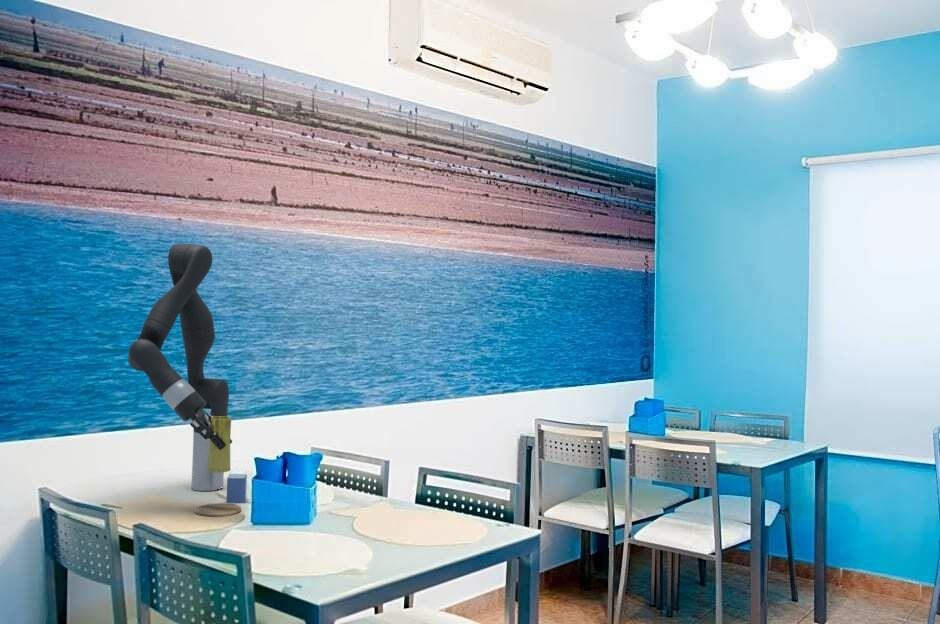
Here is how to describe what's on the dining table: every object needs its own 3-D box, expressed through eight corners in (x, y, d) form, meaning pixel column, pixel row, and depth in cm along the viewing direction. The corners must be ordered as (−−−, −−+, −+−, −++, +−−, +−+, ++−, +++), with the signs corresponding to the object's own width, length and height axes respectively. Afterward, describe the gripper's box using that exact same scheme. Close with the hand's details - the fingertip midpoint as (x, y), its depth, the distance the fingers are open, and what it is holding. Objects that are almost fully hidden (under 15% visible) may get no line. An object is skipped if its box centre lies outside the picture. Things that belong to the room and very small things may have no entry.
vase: (223, 473, 226) (226, 419, 226) (202, 471, 227) (204, 418, 228) (234, 469, 232) (236, 417, 232) (213, 467, 233) (216, 415, 233)
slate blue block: (228, 499, 245) (229, 470, 245) (246, 499, 246) (247, 470, 246) (226, 503, 240) (227, 474, 240) (244, 503, 241) (245, 474, 241)
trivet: (202, 505, 236) (202, 502, 236) (246, 507, 236) (246, 503, 236) (188, 515, 224) (188, 512, 224) (234, 517, 224) (234, 513, 224)
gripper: (185, 392, 223) (229, 440, 223) (202, 388, 237) (243, 433, 237) (164, 412, 223) (208, 460, 223) (182, 406, 237) (223, 451, 237)
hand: (226, 445), depth 230 cm, fingers closed on vase, 5 cm apart
